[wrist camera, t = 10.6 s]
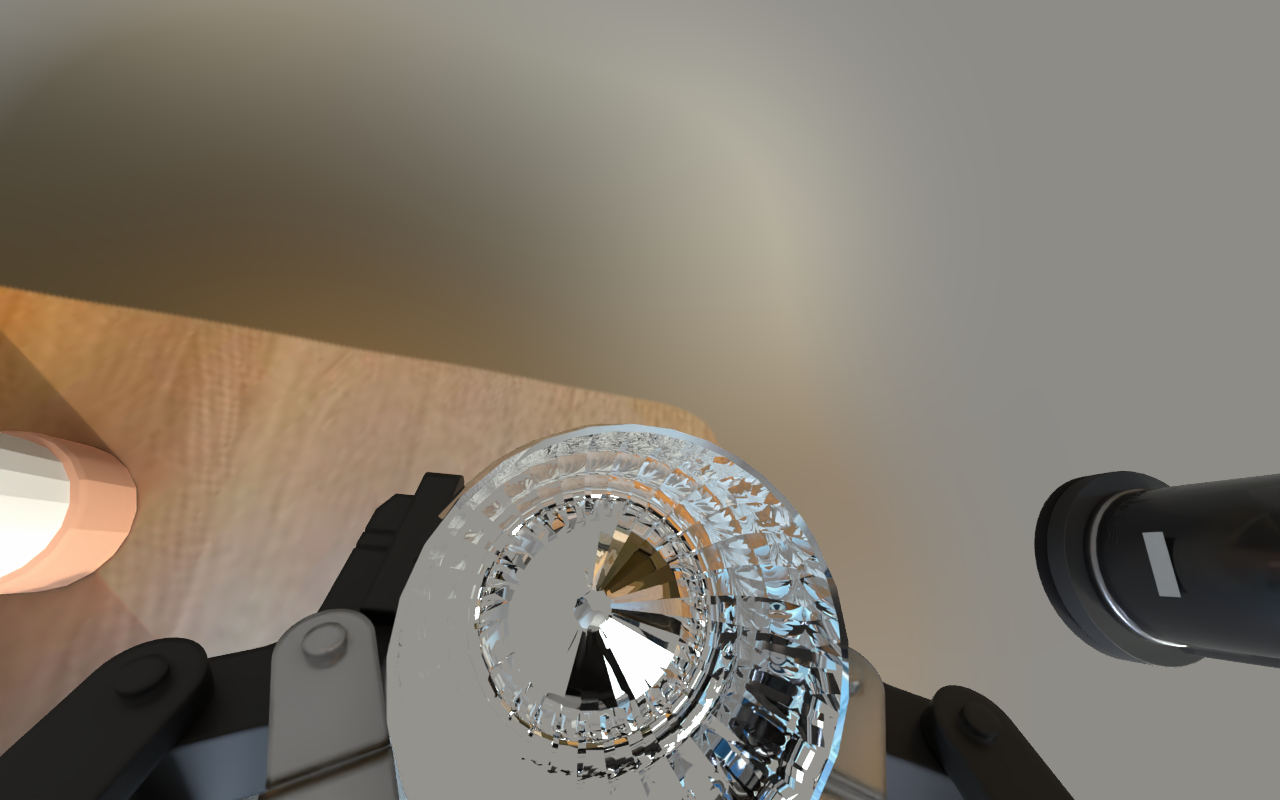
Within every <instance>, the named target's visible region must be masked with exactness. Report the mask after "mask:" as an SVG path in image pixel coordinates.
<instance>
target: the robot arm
mask: <svg viewBox="0 0 1280 800" xmlns="http://www.w3.org/2000/svg"><path fill="white" fill-rule="evenodd" d="M463 486H464V478H463V476H462V475H452V474H442V473H432V472H427V473H425V475H424V477H423V479H422V481H421V483H420V485H419V487H418V489H417V491H416V493H415V495H405V494H395V495H394V496H392V497H391V498H390V499H389V500H387V501H386V502H385V503H383V504H382V505H381V506H380V507H378V508H377V509H376V510H375V512H374V514H373V516H372V517H371V519H370V521H369V523H368V524H367V526H366V528H365V532H363V533H362V535H361V537H360V539H359V540H358V542H357V544H356V548H354V549H353V551H352V553H351V554H350V556H349V558H348V560H347V562H346V563H345V565H344V567H343V569H342V570H341V572H340V574H339V576H338V577H337V579H336V581H335V583H334V584H333V586H332V588H331V590H330V592H329V593H328V595H327V597H326V599H325V600H324V602H323V604H322V606H321V607H320V609H319V610H318V612H317V613H315V614H312V615H310V616H308V617H306V618H304V619H302V620H300V621H299V622H297V623H296V624H294V625H293V626H291V627H290V628H289V629H288V630H287V631H286V632H285V633H284V634H283V635H282V637H281V638H280V639H279V641H278V642H276V643H273V644H270V645H268V646H264V647H260V648H256V649H251V650H246V651H241V652H236V653H231V654H226V655H221V656H216V657H211V658H207V654H206V652H205V650H204V648H203V647H202V646H201V645H200V644H198V643H196V642H195V641H192V640H189V639H185V638H163V639H157V640H153V641H149V642H145V643H142V644H140V645H137V646H134V647H132V648H130V649H128V650H125V651H123V652H122V653H120V654H118V655H116V656H114V657H113V658H111V659H110V660H108V661H107V662H105V663H104V664H103V665H102V666H100V667H99V668H98V669H97V670H95V671H94V672H93V673H92V674H91V675H90V676H89V677H88V678H87V679H86V680H84V681H83V682H82V683H81V684H80V685H79V686H78V687H77V688H76V689H74V690H73V691H72V692H71V693H70V694H69V695H68V696H67V697H66V698H65V699H63V700H62V701H61V702H60V703H59V704H58V705H57V706H56V707H55V708H53V709H52V710H51V711H50V712H49V713H48V714H47V715H46V716H45V717H44V718H42V719H41V720H40V721H39V722H38V723H37V724H36V725H35V726H34V727H33V728H31V729H30V730H29V731H28V732H27V733H26V734H25V735H24V736H23V737H21V738H20V739H19V740H18V741H17V742H16V743H15V744H14V745H13V746H12V747H10V748H9V749H8V750H7V751H6V752H5V753H4V754H3V755H2V756H0V800H239V799H242V798H246V797H249V796H252V795H256V794H259V793H260V795H259V798H258V800H399V794H398V787H397V779H396V772H395V765H394V758H393V751H392V746H391V744H390V739H389V732H388V726H387V715H386V694H385V673H386V659H387V650H388V641H389V632H390V623H391V618H392V615H393V611H394V608H395V605H396V601H397V598H398V594H399V591H400V588H401V584H402V581H403V578H404V575H405V573H406V571H407V568H408V566H409V564H410V562H411V559H412V557H413V555H414V553H415V551H416V550H417V548H418V546H419V544H420V542H421V540H422V539H423V537H424V535H425V534H426V532H427V531H428V529H429V528H430V526H431V525H432V523H433V521H434V520H435V518H436V517H437V516H438V515H439V514H440V512H441V511H442V510H443V509H444V508H445V506H446V505H447V504H448V503H449V501H450V500H451V499H452V498H453V497H454V495H455V494H456V493H457V492H458V491H459V490H460V489H461V488H462V487H463ZM1083 548H1084V559H1085V564H1086V568H1087V572H1088V575H1089V578H1090V581H1091V583H1092V586H1093V588H1094V590H1095V592H1096V594H1097V596H1098V597H1099V599H1100V601H1101V602H1102V604H1103V605H1104V606H1105V608H1106V609H1107V610H1108V612H1109V613H1110V614H1111V615H1112V616H1113V617H1114V618H1115V619H1116V620H1117V621H1118V622H1119V623H1120V624H1121V625H1122V626H1123V627H1124V628H1126V629H1127V630H1128V631H1130V632H1131V633H1133V634H1134V635H1136V636H1138V637H1140V638H1142V639H1144V640H1147V641H1149V642H1152V643H1157V644H1162V645H1169V646H1177V647H1179V648H1180V649H1181V650H1182V651H1183V652H1184V653H1185V654H1187V655H1193V656H1200V657H1207V658H1214V659H1221V660H1227V661H1234V662H1241V663H1247V664H1255V665H1261V666H1268V667H1274V668H1280V474H1272V475H1264V476H1256V477H1247V478H1239V479H1231V480H1223V481H1214V482H1206V483H1198V484H1188V485H1181V486H1172V487H1164V488H1156V489H1132V490H1124V491H1119V492H1116V493H1113V494H1111V495H1109V496H1107V497H1105V498H1104V499H1102V500H1101V501H1100V502H1099V503H1098V504H1097V505H1096V506H1095V508H1094V509H1093V511H1092V512H1091V514H1090V516H1089V518H1088V521H1087V524H1086V527H1085V532H1084V542H1083ZM848 660H849V700H848V705H847V710H846V715H845V721H844V726H843V731H842V736H841V742H840V747H839V752H838V756H837V758H836V760H835V763H834V765H833V767H832V770H831V772H830V774H829V777H828V779H827V781H826V784H825V786H824V788H823V791H822V793H821V795H820V798H819V800H1074V799H1073V797H1072V796H1071V795H1070V794H1069V792H1068V791H1067V790H1066V789H1065V787H1064V786H1063V785H1062V784H1061V782H1060V781H1059V780H1058V779H1057V777H1056V776H1055V775H1054V774H1053V772H1052V771H1051V770H1050V768H1049V767H1048V766H1047V765H1046V764H1045V762H1044V761H1043V760H1042V758H1041V757H1040V756H1039V755H1038V753H1037V752H1036V751H1035V750H1034V748H1033V747H1032V746H1031V745H1030V743H1029V742H1028V741H1027V740H1026V738H1025V737H1024V736H1023V734H1022V733H1021V732H1020V731H1019V730H1018V728H1017V727H1016V726H1015V725H1014V723H1013V722H1012V721H1011V720H1010V718H1009V717H1008V716H1007V715H1006V714H1005V713H1004V712H1003V711H1002V710H1001V709H1000V708H999V707H998V706H997V705H996V704H994V703H993V702H992V701H991V700H989V699H988V698H986V697H985V696H983V695H981V694H979V693H977V692H976V691H973V690H971V689H969V688H965V687H962V686H956V685H953V686H952V685H949V686H945V687H942V688H941V689H939V690H938V691H937V692H936V694H935V695H934V697H933V699H932V700H929V699H926V698H923V697H921V696H918V695H915V694H912V693H910V692H907V691H904V690H901V689H898V688H896V687H893V686H890V685H888V684H886V683H884V682H882V680H881V678H880V675H879V674H878V672H877V671H876V669H875V668H874V667H873V666H872V664H871V663H870V662H869V661H868V660H867V659H866V658H865V657H863V656H862V655H861V654H860V653H858V652H857V651H855V650H853V649H852V648H850V647H848Z"/></svg>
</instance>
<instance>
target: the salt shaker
mask: <svg viewBox="0 0 1280 800" xmlns="http://www.w3.org/2000/svg"><path fill="white" fill-rule="evenodd" d="M136 511H137V499H136V487H135V484H134V482H133V480H132V477H131V475H130V473H129V470H128V469H127V468H126V467H125V466H124V465H123V464H122V463H121V462H120V461H119V460H118V459H117V458H116V457H115V456H113V455H112V454H109V453H107V452H105V451H102V450H100V449H97V448H95V447H93V446H89V445H85V444H81V443H77V442H73V441H69V440H65V439H61V438H57V437H53V436H49V435H45V434H41V433H37V432H26V431H16V430H6V431H0V594H11V593H28V592H40V591H45V590H49V589H54V588H58V587H63V586H67V585H69V584H71V583H73V582H75V581H77V580H79V579H81V578H83V577H85V576H87V575H89V574H91V573H93V572H94V571H95V570H96V569H97V568H99V567H100V566H101V565H102V564H103V563H104V562H106V561H107V560H108V559H109V558H110V557H112V556H113V555H114V554H115V552H116V551H117V549H118V548H119V547H120V545H121V544H122V542H123V541H124V539H125V538H126V537H127V535H128V534H129V532H130V529H131V526H132V523H133V520H134V517H135V514H136Z"/></svg>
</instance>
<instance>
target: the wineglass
mask: <svg viewBox="0 0 1280 800" xmlns="http://www.w3.org/2000/svg"><path fill="white" fill-rule="evenodd" d="M385 694H386V715H387V726H388V730H389V734H390V738H391V742H392V746H393V750H394V754H395V758H396V762H397V766H398V770H399V774H400V778H401V782H402V786H403V790H404V792H405V794H406V796H407V798H408V800H819V798H820V795H821V793H822V791H823V788H824V786H825V784H826V781H827V779H828V777H829V774H830V772H831V770H832V767H833V765H834V763H835V760H836V758H837V756H838V752H839V747H840V742H841V736H842V731H843V726H844V721H845V715H846V710H847V705H848V700H849V660H848V638H847V633H846V629H845V624H844V620H843V615H842V611H841V605H840V601H839V596H838V592H837V587H836V585H835V583H834V580H833V578H832V576H831V574H830V571H829V569H828V567H827V564H826V562H825V560H824V558H823V555H822V553H821V551H820V549H819V546H818V544H817V542H816V540H815V537H814V536H813V534H812V533H811V531H810V530H809V528H808V527H807V525H806V523H805V522H804V521H803V519H802V518H801V516H800V515H799V514H798V513H797V511H796V510H795V509H794V507H793V506H792V505H791V504H790V502H789V501H788V500H787V499H786V497H785V496H784V495H783V494H782V493H781V492H780V491H779V490H777V488H776V487H774V486H773V485H772V484H771V483H770V482H769V481H768V480H767V479H766V478H765V477H764V476H763V475H762V474H760V473H759V472H758V471H756V470H755V469H754V468H752V467H751V466H750V465H748V464H747V463H746V462H744V461H743V460H741V459H740V458H739V457H737V456H735V455H733V454H731V453H730V452H728V451H726V450H724V449H722V448H720V447H718V446H716V445H715V444H713V443H711V442H709V441H707V440H704V439H700V438H697V437H694V436H691V435H688V434H685V433H682V432H679V431H676V430H673V429H668V428H661V427H653V426H645V425H637V424H593V425H584V426H580V427H576V428H572V429H569V430H566V431H562V432H559V433H555V434H552V435H549V436H545V437H542V438H539V439H535V440H532V441H530V442H528V443H526V444H524V445H522V446H520V447H518V448H516V449H515V450H513V451H511V452H509V453H507V454H506V455H504V456H502V457H500V458H499V459H497V460H495V461H494V462H492V463H491V464H490V465H489V466H487V467H486V468H485V469H484V470H482V471H481V472H480V473H479V474H478V475H476V476H475V477H474V478H473V479H471V480H470V481H469V482H468V483H466V484H465V485H464V486H463V487H462V488H461V489H460V490H459V491H458V492H457V493H456V494H455V495H454V497H453V498H452V499H451V500H450V501H449V503H448V504H447V505H446V506H445V508H444V509H443V510H442V511H441V512H440V514H439V515H438V516H437V517H436V518H435V520H434V521H433V523H432V525H431V526H430V528H429V529H428V531H427V532H426V534H425V535H424V537H423V539H422V540H421V542H420V544H419V546H418V548H417V550H416V551H415V553H414V555H413V557H412V559H411V562H410V564H409V566H408V568H407V571H406V573H405V575H404V578H403V581H402V584H401V588H400V591H399V594H398V598H397V601H396V605H395V608H394V611H393V615H392V618H391V623H390V632H389V641H388V650H387V659H386V673H385Z"/></svg>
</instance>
